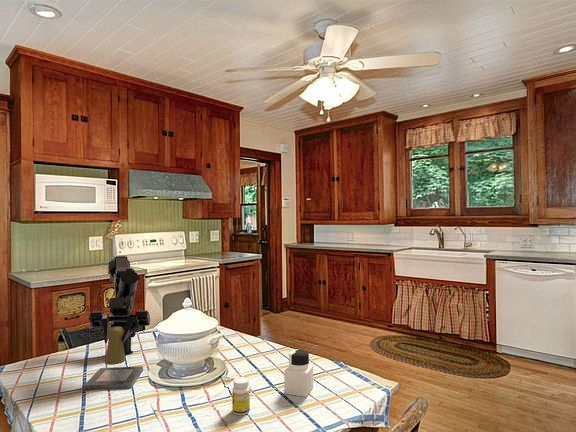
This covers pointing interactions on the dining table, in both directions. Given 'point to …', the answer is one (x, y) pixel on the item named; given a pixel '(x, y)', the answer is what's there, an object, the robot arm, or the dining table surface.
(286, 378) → the medicine bottle
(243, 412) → the supplement bottle
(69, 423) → the dining table surface
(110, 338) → the cork
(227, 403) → the dining table surface
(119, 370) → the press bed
